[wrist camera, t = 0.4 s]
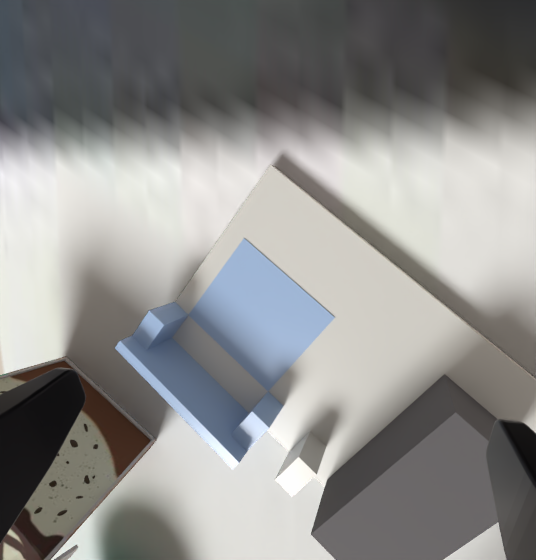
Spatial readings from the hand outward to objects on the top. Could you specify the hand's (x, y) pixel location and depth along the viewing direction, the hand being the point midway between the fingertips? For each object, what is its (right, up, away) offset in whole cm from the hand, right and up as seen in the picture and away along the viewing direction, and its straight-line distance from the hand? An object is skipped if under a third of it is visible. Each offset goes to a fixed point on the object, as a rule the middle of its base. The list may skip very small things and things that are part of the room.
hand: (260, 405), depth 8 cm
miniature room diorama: (+4, -2, +13) cm, 14 cm away
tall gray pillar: (+8, -7, +11) cm, 15 cm away
